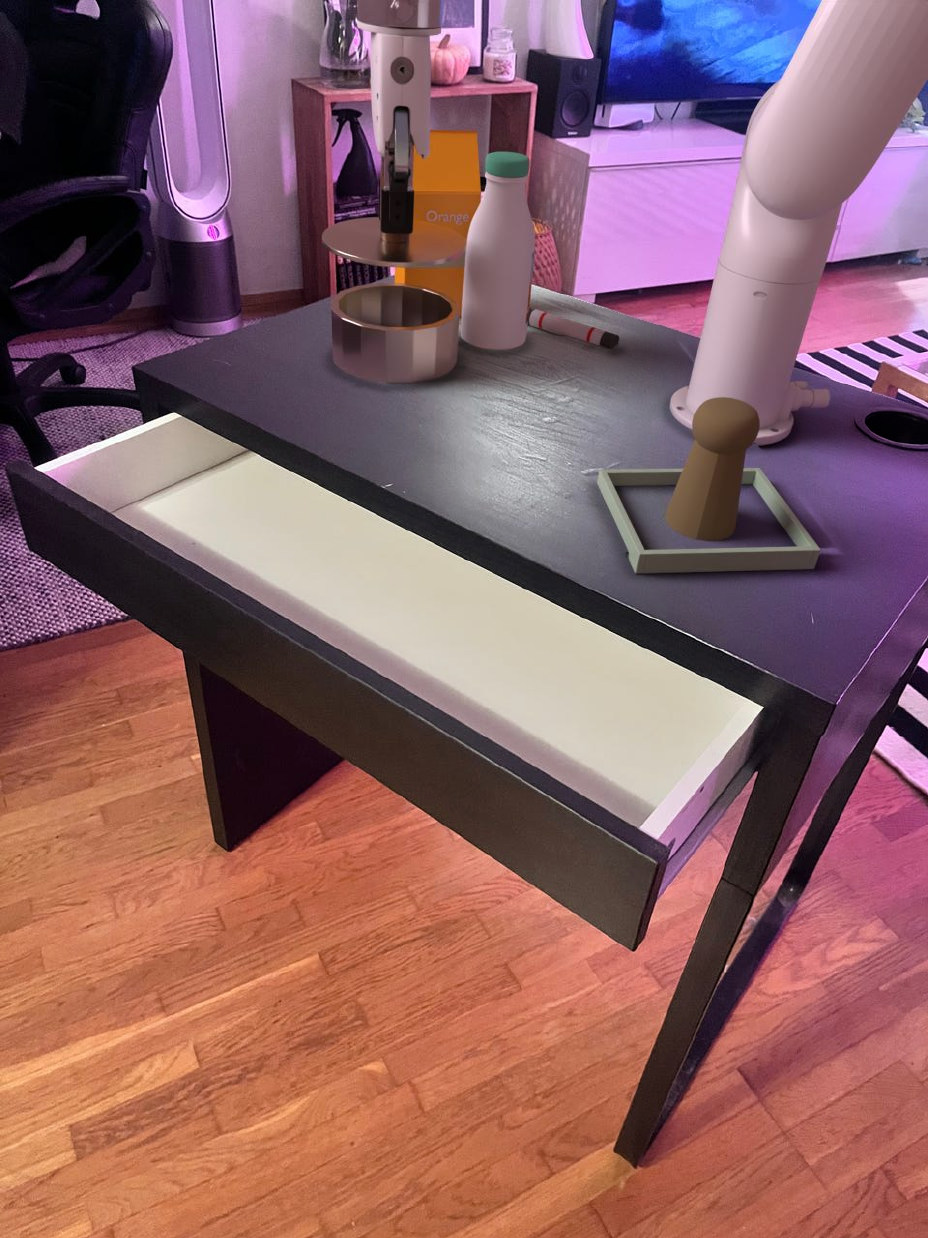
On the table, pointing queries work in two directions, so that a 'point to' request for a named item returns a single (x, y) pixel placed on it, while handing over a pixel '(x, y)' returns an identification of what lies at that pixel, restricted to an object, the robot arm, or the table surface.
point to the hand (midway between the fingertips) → (395, 224)
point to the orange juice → (445, 204)
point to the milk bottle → (499, 258)
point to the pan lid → (393, 243)
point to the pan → (394, 332)
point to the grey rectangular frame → (713, 557)
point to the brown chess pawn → (713, 470)
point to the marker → (571, 328)
